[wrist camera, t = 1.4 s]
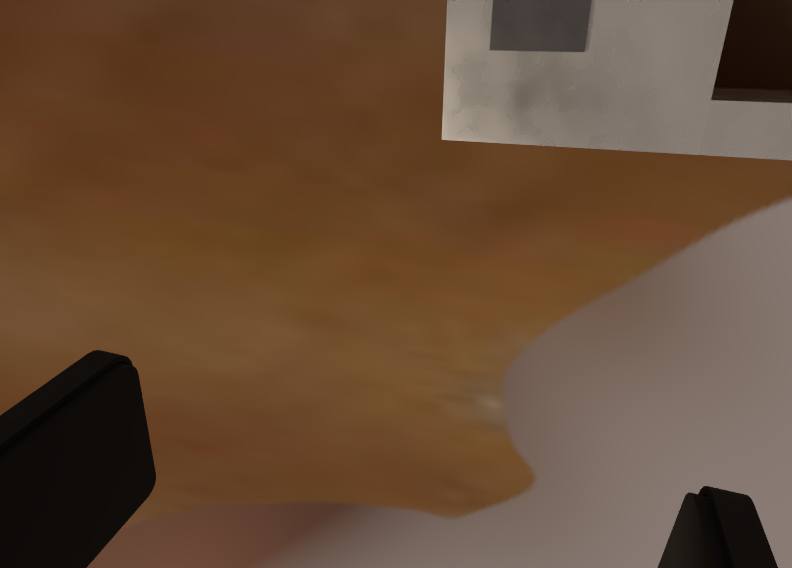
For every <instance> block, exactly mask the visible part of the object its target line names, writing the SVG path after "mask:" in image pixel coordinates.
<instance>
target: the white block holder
mask: <svg viewBox="0 0 792 568" xmlns="http://www.w3.org/2000/svg"><path fill="white" fill-rule="evenodd" d="M732 5H733V0H447V23H446V48H445V73H444V98H443V123H442V140H456V141H473V142H490V143H507V144H524V145H541V146H558V147H575V148H592V149H609V150H626V151H643V152H660V153H677V154H694V155H711V156H728V157H745V158H762V159H779V160H792V90H783V89H752V88H721V87H714V84H715V80H716V75H717V71H718V66H719V62H720V58H721V53H722V49H723V44H724V40H725V36H726V31H727V27H728V22H729V18H730V14H731V9H732Z"/></svg>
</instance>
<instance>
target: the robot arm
mask: <svg viewBox="0 0 792 568" xmlns="http://www.w3.org/2000/svg"><path fill="white" fill-rule="evenodd" d="M155 481H156V473H155V467H154V461H153V455H152V450H151V444H150V438H149V432H148V427H147V421H146V415H145V410H144V404H143V398H142V392H141V387H140V381H139V375H138V371H137V369H136V368H135V367H134V366H133V365H132V362H131V360H130V359H129V358H128V357H126V356H123V355H118V354H114V353H109V352H105V351H100V350H96V351H92V352H90V353H88V354H87V355H85V356H84V357H83V358H81V359H80V360H78V361H77V362H75V363H74V364H73V365H71V366H70V367H68V368H67V369H66V370H64V371H63V372H61V373H60V374H58V375H57V376H56V377H54V378H53V379H51V380H50V381H49V382H47V383H46V384H44V385H43V386H42V387H40V388H39V389H37V390H36V391H34V392H33V393H32V394H30V395H29V396H27V397H26V398H25V399H23V400H22V401H20V402H19V403H18V404H16V405H15V406H13V407H12V408H10V409H9V410H8V411H6V412H5V413H3V414H2V415H1V416H0V568H86V567H87V566H88V565H89V564H90V563H91V562H92V561H93V560H94V558H95V557H96V556H97V555H98V554H99V553H100V552H101V550H102V549H103V548H104V547H105V545H106V544H107V543H108V542H109V541H110V540H111V539H112V538H113V537H114V535H115V534H116V533H117V532H118V531H119V530H120V529H121V527H122V526H123V525H124V524H125V523H126V522H127V521H128V519H129V518H130V517H131V516H132V515H133V514H134V512H135V511H136V510H137V509H138V508H139V507H140V506H141V504H142V503H143V502H144V501H145V500H146V499H147V498H148V496H149V495H150V494H151V492H152V490H153V488H154V485H155ZM658 568H778V567H777V564H776V561H775V559H774V556H773V553H772V551H771V548H770V545H769V543H768V540H767V537H766V535H765V532H764V530H763V527H762V524H761V521H760V519H759V516H758V513H757V511H756V508H755V506H754V503H753V501H752V500H751V498H750V497H749V496H748V495H744V494H740V493H735V492H731V491H727V490H721V489H718V488H713V487H709V486H704V487H703V488H702V489H701V490H700V492H699V494H694V493H688V494H686V496H685V498H684V500H683V503H682V506H681V508H680V511H679V513H678V516H677V519H676V521H675V524H674V527H673V529H672V532H671V534H670V537H669V539H668V542H667V545H666V547H665V550H664V553H663V555H662V558H661V561H660V563H659V565H658Z"/></svg>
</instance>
